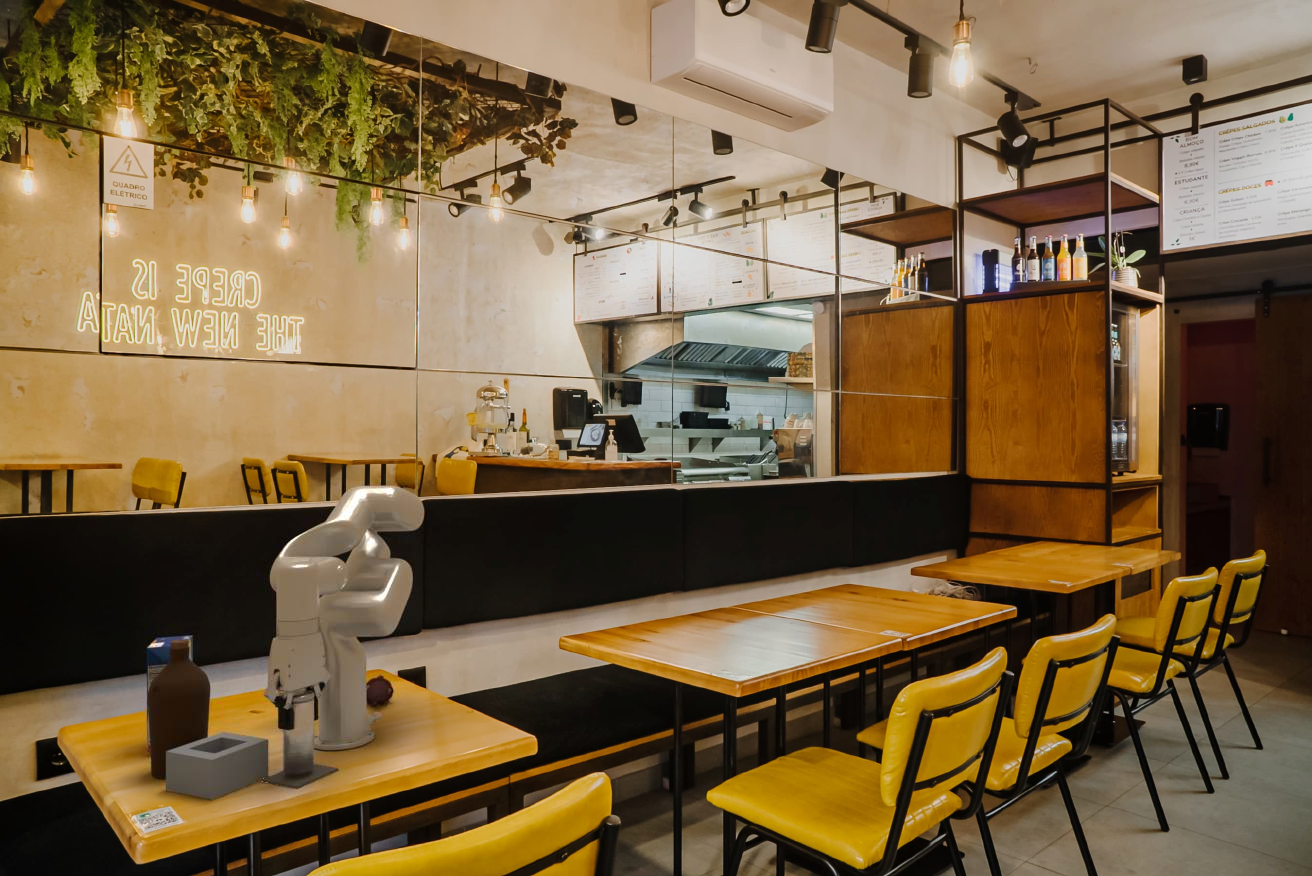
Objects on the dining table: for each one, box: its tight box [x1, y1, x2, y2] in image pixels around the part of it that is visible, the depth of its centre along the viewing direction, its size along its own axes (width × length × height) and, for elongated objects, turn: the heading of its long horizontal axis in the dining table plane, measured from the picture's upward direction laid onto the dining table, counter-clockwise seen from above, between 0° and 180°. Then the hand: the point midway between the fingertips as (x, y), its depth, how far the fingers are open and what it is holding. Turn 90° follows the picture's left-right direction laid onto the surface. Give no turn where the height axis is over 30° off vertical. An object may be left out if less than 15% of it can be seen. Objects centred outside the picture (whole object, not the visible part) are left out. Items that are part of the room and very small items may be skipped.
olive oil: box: [148, 639, 211, 780], centre depth 164 cm, size 11×11×25 cm
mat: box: [260, 763, 339, 790], centre depth 160 cm, size 10×9×1 cm
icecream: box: [366, 675, 395, 707], centre depth 208 cm, size 7×7×15 cm
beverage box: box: [146, 635, 194, 758], centre depth 179 cm, size 7×11×22 cm, turn 21°
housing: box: [165, 731, 269, 801], centre depth 157 cm, size 12×12×7 cm
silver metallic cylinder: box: [282, 690, 315, 774], centre depth 160 cm, size 6×6×14 cm
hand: (298, 723), depth 160 cm, fingers closed on silver metallic cylinder, 5 cm apart
